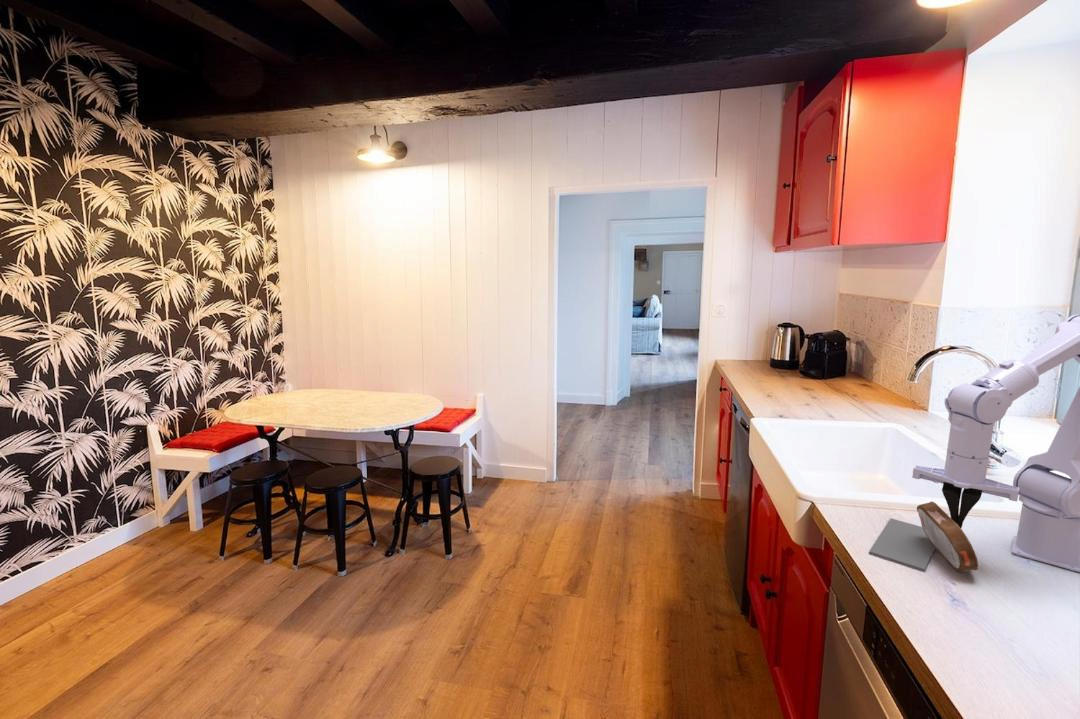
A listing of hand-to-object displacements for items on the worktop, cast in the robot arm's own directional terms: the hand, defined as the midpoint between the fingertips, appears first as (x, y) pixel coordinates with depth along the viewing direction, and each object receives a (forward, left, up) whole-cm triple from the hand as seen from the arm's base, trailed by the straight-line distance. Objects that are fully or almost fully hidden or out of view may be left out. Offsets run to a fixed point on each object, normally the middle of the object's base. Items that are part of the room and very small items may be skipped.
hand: (956, 526), depth 95 cm
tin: (0, 0, -6) cm, 6 cm away
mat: (+7, -1, -7) cm, 10 cm away
